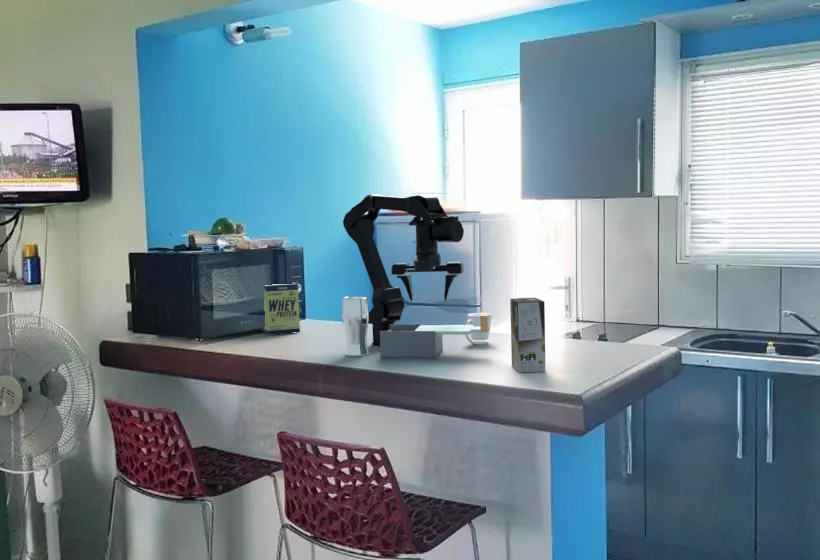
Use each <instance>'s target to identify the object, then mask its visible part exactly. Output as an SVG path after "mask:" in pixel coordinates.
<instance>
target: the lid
mask: <svg viewBox="0 0 820 560" xmlns="http://www.w3.org/2000/svg"><path fill="white" fill-rule="evenodd" d="M481 313H482V314H481V316H480V327H474V325H466V324H442V325H420V326H419V327H418V328H417V329H416V330H415V331H435V335H442V336H445V335H448V336H449V335H451V336H453V335H464V336H465V335H468V336H469V335H471V334H470V333H488V331H489V313H490V312H481Z"/></svg>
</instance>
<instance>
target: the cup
mask: <svg viewBox="0 0 820 560" xmlns="http://www.w3.org/2000/svg"><path fill="white" fill-rule="evenodd" d="M482 313H483V312H473V313H472V312H471V313H468V314H467V315H466V317H467V321H466V323H465V325H474V327H480V316H481V314H482ZM488 313H489V331H488V333H470V334H469V335H470V337H471V338H470V337H469V335H464V336H465V337H464V338H465V339H466V340H467V341H468V342H469V343H470V344H472V345H486V344H488V343H489V341H488V340H489V335H490V332H491V324H492V323H491V322H492V317H493V316H492V315H493V314H492V313H490V312H488Z"/></svg>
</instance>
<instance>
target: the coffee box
mask: <svg viewBox="0 0 820 560" xmlns="http://www.w3.org/2000/svg"><path fill="white" fill-rule="evenodd" d="M509 302H510V303H509V304H510V307H509V308H510V339H511V340H510V342H511V343H510V346H511V347H510V348H511V366H512V367H513V368H514V369H515V370H516V372H518V373H539V372H541V373H544V372H546V322H545V321H546V320H545V319H546V316H545V314H546V312H545V311H546V310H545V301H544V300H542V299H539V298H536V297H518V298H509Z"/></svg>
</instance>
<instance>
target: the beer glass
mask: <svg viewBox="0 0 820 560" xmlns="http://www.w3.org/2000/svg"><path fill="white" fill-rule="evenodd" d="M341 302H342V303H341V317H342V319H341V320H342V325H343V330H344V334H345V339H346V345H345V346H346V348H345V352H344V353H345V354H344V355H345V356H347V357H363V356H367V355H369V349H368V344H367V337H368V328H369V323H368V321H369V312H370V311H369V301H368V297H367V296H360V295H359V296H358V295H357V296H345V297H342V301H341Z"/></svg>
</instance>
